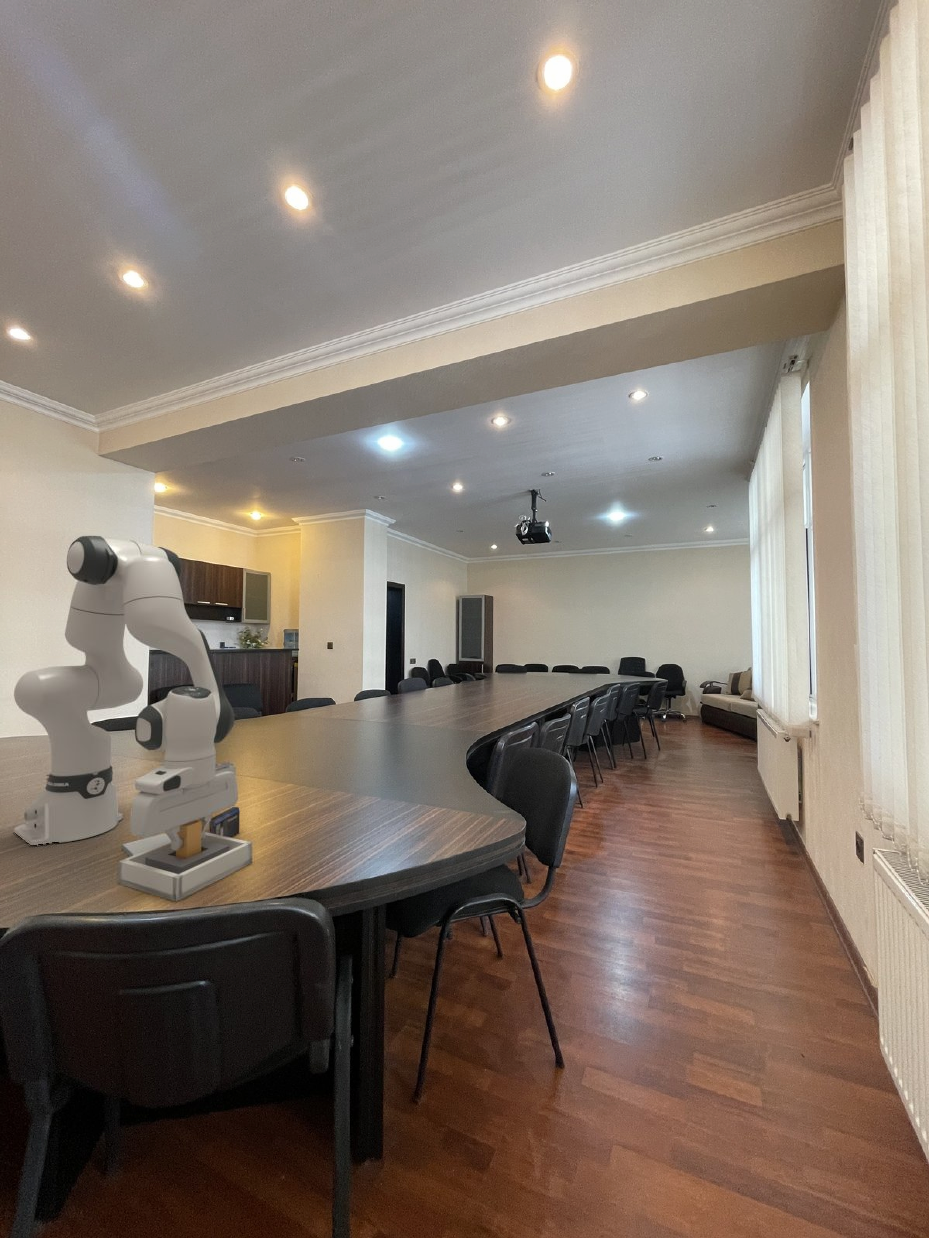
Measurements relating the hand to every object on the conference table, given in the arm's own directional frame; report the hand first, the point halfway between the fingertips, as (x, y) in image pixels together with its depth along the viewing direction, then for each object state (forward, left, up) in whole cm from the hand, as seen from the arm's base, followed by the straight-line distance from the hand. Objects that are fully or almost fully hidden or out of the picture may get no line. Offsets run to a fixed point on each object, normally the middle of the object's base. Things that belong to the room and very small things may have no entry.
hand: (188, 844), depth 93 cm
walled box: (0, 0, -5) cm, 5 cm away
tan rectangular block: (0, 0, -3) cm, 3 cm away
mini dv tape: (-7, +14, -6) cm, 17 cm away
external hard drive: (-18, +7, -6) cm, 20 cm away
